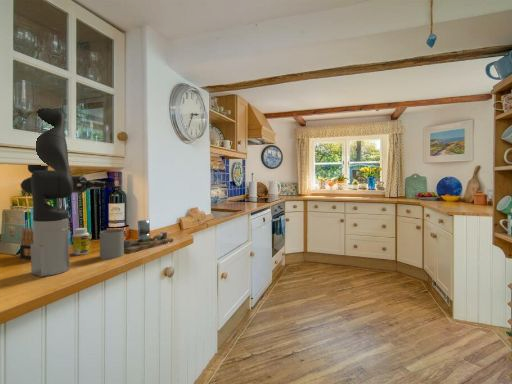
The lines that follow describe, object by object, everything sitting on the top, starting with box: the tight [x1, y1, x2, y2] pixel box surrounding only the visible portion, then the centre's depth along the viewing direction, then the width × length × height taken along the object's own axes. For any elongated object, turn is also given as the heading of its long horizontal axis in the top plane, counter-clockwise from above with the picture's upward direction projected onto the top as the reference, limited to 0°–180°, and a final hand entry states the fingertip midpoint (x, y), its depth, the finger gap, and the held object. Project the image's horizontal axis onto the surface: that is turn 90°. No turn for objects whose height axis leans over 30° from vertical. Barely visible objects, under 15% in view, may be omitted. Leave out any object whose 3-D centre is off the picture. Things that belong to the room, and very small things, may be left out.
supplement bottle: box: [72, 227, 90, 256], centre depth 110 cm, size 6×6×10 cm
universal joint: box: [137, 219, 151, 242], centre depth 124 cm, size 5×5×10 cm
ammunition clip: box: [19, 226, 34, 260], centre depth 102 cm, size 11×2×12 cm, turn 78°
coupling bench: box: [124, 231, 174, 254], centre depth 124 cm, size 24×10×4 cm, turn 152°
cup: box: [99, 228, 125, 260], centre depth 107 cm, size 8×8×10 cm
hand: (109, 184), depth 123 cm, fingers open, 8 cm apart
